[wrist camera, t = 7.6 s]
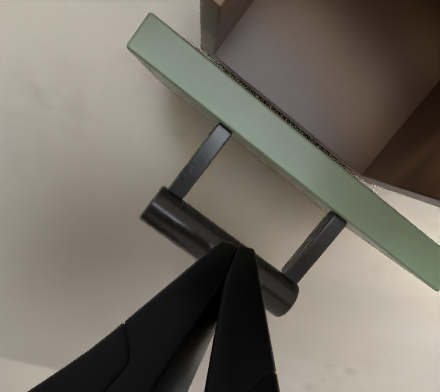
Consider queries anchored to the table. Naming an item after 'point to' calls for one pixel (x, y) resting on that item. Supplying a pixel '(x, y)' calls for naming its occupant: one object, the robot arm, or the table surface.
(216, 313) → the robot arm
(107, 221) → the table surface
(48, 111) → the table surface
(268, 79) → the drawer
